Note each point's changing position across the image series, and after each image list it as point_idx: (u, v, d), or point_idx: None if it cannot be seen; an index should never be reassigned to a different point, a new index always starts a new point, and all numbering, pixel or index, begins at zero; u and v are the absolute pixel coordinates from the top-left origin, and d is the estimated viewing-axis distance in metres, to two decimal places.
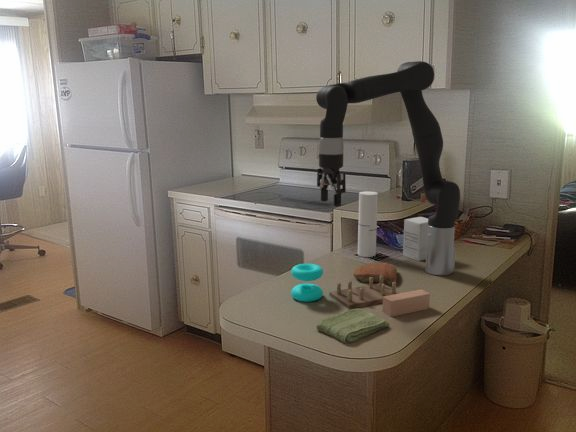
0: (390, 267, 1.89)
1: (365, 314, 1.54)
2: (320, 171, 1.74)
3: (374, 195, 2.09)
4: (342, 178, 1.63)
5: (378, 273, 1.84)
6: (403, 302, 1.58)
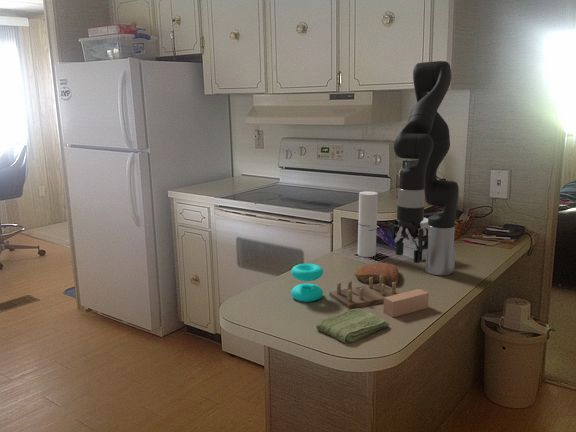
0: (392, 267, 1.88)
1: (365, 314, 1.54)
2: (396, 223, 1.61)
3: (374, 195, 2.09)
4: (425, 234, 1.50)
5: (379, 273, 1.84)
6: (404, 303, 1.58)
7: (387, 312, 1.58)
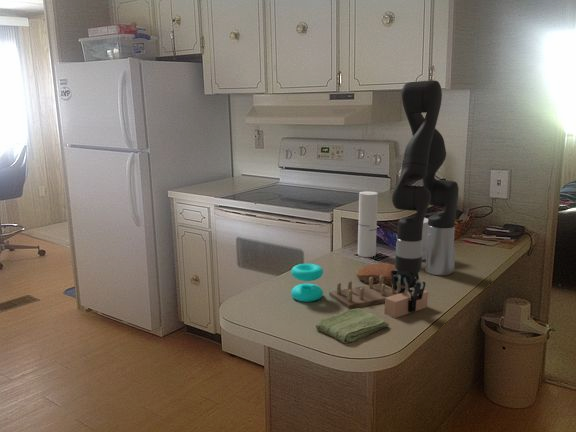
0: (393, 268, 1.88)
1: (365, 314, 1.54)
2: (394, 273, 1.64)
3: (374, 195, 2.09)
4: (421, 288, 1.54)
5: (381, 273, 1.83)
6: (405, 302, 1.58)
7: (389, 312, 1.58)
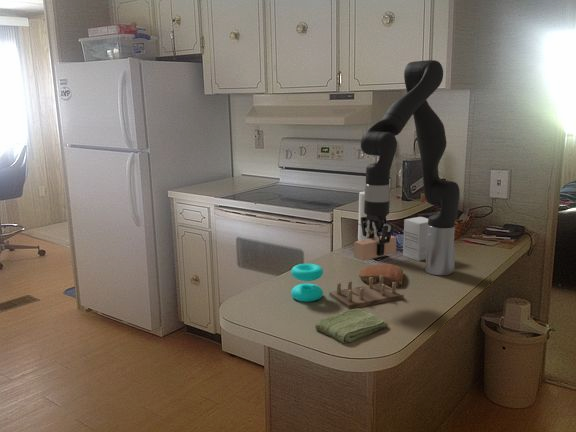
0: (396, 269, 1.87)
1: (364, 314, 1.54)
2: (364, 219, 1.69)
3: None
4: (389, 230, 1.59)
5: (383, 274, 1.83)
6: (374, 246, 1.63)
7: (358, 256, 1.63)
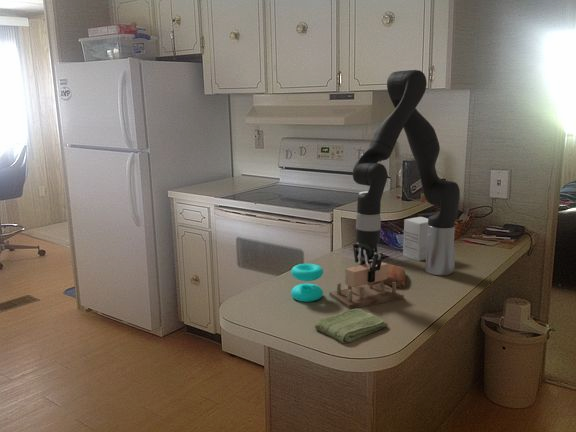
0: (398, 269, 1.87)
1: (364, 314, 1.54)
2: (356, 246, 1.73)
3: None
4: (379, 259, 1.63)
5: None
6: (364, 273, 1.67)
7: (349, 282, 1.67)
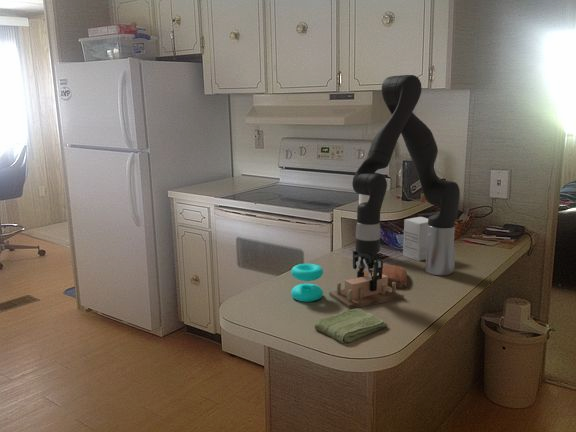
0: (400, 270, 1.86)
1: (364, 314, 1.54)
2: (356, 253, 1.74)
3: None
4: (379, 266, 1.64)
5: (388, 275, 1.81)
6: (364, 285, 1.68)
7: None
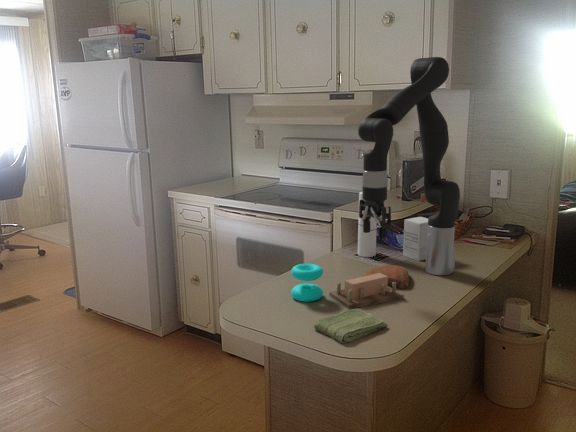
0: (402, 270, 1.86)
1: (363, 314, 1.54)
2: (362, 202, 1.72)
3: None
4: (387, 212, 1.62)
5: (389, 276, 1.81)
6: (364, 285, 1.68)
7: None
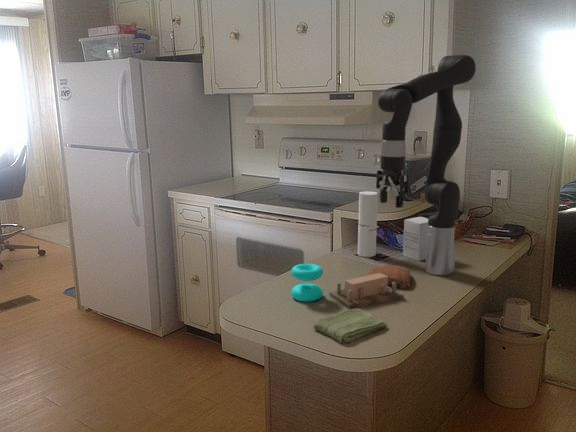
0: (403, 270, 1.86)
1: (363, 314, 1.54)
2: (380, 173, 1.76)
3: (374, 195, 2.09)
4: (405, 180, 1.66)
5: (391, 276, 1.81)
6: (364, 285, 1.68)
7: None
